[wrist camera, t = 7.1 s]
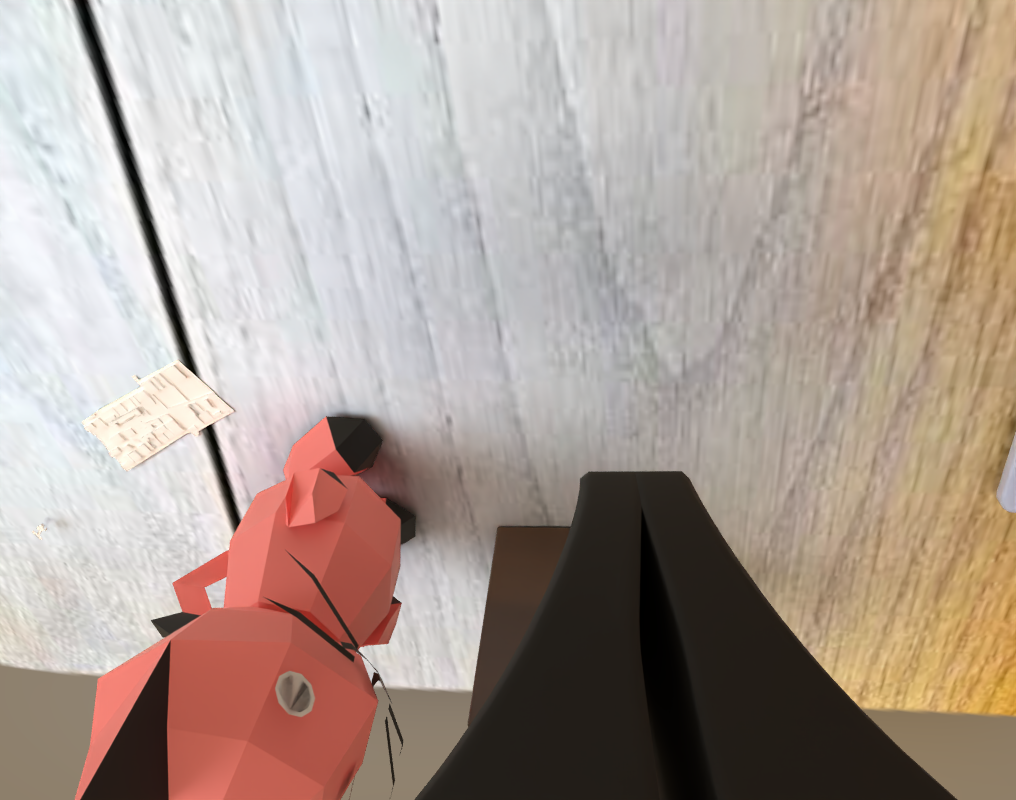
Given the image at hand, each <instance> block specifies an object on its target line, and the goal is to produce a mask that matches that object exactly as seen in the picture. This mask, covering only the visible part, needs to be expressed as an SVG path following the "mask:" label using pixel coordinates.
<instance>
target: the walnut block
mask: <svg viewBox="0 0 1016 800" xmlns="http://www.w3.org/2000/svg"><path fill="white" fill-rule="evenodd" d="M569 531H570V528H552V527H498V529H497V534H496V541H495V547H494V554H493V560H492V567H491V574H490V580H489V587H488V593H487V600H486V607H485V613H484V620H483V626H482V633H481V639H480V646H479V653H478V659H477V666H476V672H475V679H474V686H473V692H472V699H471V705H470V712H469V719H468V727H469V726H470V724H471V723H472V721H473V720H474V718H475V717H476V715H477V714H478V712H479V711H480V709H481V708H482V706H483V705H484V703H485V702H486V700H487V699H488V697H489V695H490V694H491V692H492V691H493V689H494V687H495V686H496V684H497V682H498V681H499V679H500V677H501V676H502V674H503V672H504V671H505V669H506V667H507V666H508V664H509V662H510V660H511V659H512V657H513V655H514V653H515V651H516V650H517V648H518V646H519V644H520V642H521V640H522V639H523V637H524V635H525V633H526V631H527V629H528V627H529V625H530V623H531V621H532V619H533V616H534V614H535V612H536V610H537V608H538V606H539V604H540V602H541V600H542V598H543V596H544V594H545V592H546V590H547V587H548V585H549V583H550V581H551V578H552V576H553V573H554V571H555V568H556V566H557V563H558V560H559V558H560V555H561V553H562V550H563V548H564V545H565V543H566V540H567V537H568V534H569Z"/></svg>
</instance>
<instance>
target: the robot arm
mask: <svg viewBox="0 0 1016 800" xmlns="http://www.w3.org/2000/svg"><path fill="white" fill-rule="evenodd" d="M996 498H997V499H998V501H999V503H1000V504H1001V506H1002V507H1003V509H1005V510H1006V511H1008V512H1013V513H1016V432H1015V435H1014V439H1013V442H1012V445H1011V448H1010V451H1009V454H1008V457H1007V461H1006V464H1005V467H1004V470H1003V473H1002V476H1001V479H1000V482H999V486H998V489H997V493H996ZM415 800H957V799H956V798H955V797H954V796H953V795H952V794H950V793H949V792H948V791H947V790H946V789H945V788H944V787H943V786H941V785H940V784H939V783H938V782H937V781H936V780H935V779H934V778H933V777H932V776H930V775H929V774H928V773H927V772H926V771H925V770H924V769H923V768H921V767H920V766H919V765H918V764H917V763H916V762H915V761H914V760H913V759H911V758H910V757H909V756H908V755H907V754H906V753H905V752H904V751H902V749H901V748H900V747H898V746H897V745H896V744H895V743H894V742H893V741H892V740H891V739H890V738H889V737H888V736H887V735H886V734H885V733H884V732H883V731H882V730H881V729H880V728H879V727H878V726H877V725H876V724H875V723H874V722H873V721H872V720H871V719H870V718H869V717H868V716H867V715H866V714H865V713H864V712H863V711H862V710H861V709H860V708H859V707H858V705H857V704H856V703H855V702H854V701H853V700H852V699H851V698H850V697H849V696H848V695H847V694H846V693H845V692H844V691H843V689H842V688H841V687H840V686H839V685H838V684H837V683H836V682H835V681H834V680H833V679H832V678H831V677H830V675H829V674H828V673H827V672H826V671H825V670H824V669H823V668H822V666H821V665H820V664H819V663H818V662H817V661H816V660H815V658H814V657H813V656H812V655H811V654H810V653H809V651H808V650H807V649H806V648H805V647H804V646H803V644H802V643H801V642H800V641H799V640H798V638H797V637H796V636H795V635H794V633H793V632H792V631H791V630H790V628H789V627H788V626H787V625H786V623H785V622H784V621H783V620H782V619H781V617H780V616H779V615H778V614H777V612H776V611H775V610H774V608H773V607H772V606H771V604H770V603H769V602H768V600H767V599H766V598H765V597H764V595H763V594H762V592H761V591H760V590H759V588H758V587H757V585H756V584H755V583H754V581H753V580H752V578H751V577H750V576H749V574H748V573H747V571H746V570H745V569H744V567H743V566H742V564H741V563H740V562H739V560H738V559H737V557H736V556H735V554H734V553H733V551H732V550H731V548H730V547H729V546H728V544H727V542H726V541H725V539H724V538H723V536H722V535H721V533H720V531H719V530H718V528H717V527H716V525H715V524H714V522H713V520H712V519H711V517H710V515H709V514H708V512H707V510H706V509H705V507H704V505H703V503H702V502H701V500H700V498H699V496H698V494H697V492H696V491H695V489H694V487H693V485H692V483H691V481H690V479H689V478H688V477H687V476H686V475H685V474H684V473H683V472H682V471H655V472H588V473H587V474H585V475H584V476H583V477H582V478H580V491H579V496H578V502H577V506H576V510H575V514H574V518H573V521H572V524H571V527H570V531H569V534H568V537H567V540H566V543H565V545H564V548H563V550H562V553H561V555H560V558H559V560H558V563H557V566H556V568H555V571H554V573H553V576H552V578H551V581H550V583H549V585H548V587H547V590H546V592H545V594H544V596H543V598H542V600H541V602H540V604H539V606H538V608H537V610H536V612H535V614H534V616H533V619H532V621H531V623H530V625H529V627H528V629H527V631H526V633H525V635H524V637H523V639H522V640H521V642H520V644H519V646H518V648H517V650H516V651H515V653H514V655H513V657H512V659H511V660H510V662H509V664H508V666H507V667H506V669H505V671H504V672H503V674H502V676H501V677H500V679H499V681H498V682H497V684H496V686H495V687H494V689H493V691H492V692H491V694H490V695H489V697H488V699H487V700H486V702H485V703H484V705H483V706H482V708H481V709H480V711H479V712H478V714H477V715H476V717H475V718H474V720H473V721H472V723H471V724H470V726H469V727H468V729H467V730H466V732H465V733H464V735H463V736H462V738H461V739H460V741H459V742H458V743H457V745H456V746H455V748H454V749H453V750H452V752H451V753H450V755H449V756H448V758H447V759H446V760H445V762H444V763H443V764H442V765H441V767H440V768H439V770H438V771H437V772H436V773H435V775H434V776H433V777H432V778H431V780H430V781H429V782H428V783H427V785H426V786H425V787H424V789H423V790H422V791H421V792H420V793H419V795H418V796H417V797H416V798H415Z"/></svg>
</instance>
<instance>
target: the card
mask: <svg viewBox="0 0 1016 800" xmlns="http://www.w3.org/2000/svg"><path fill="white" fill-rule="evenodd" d="M132 377H133V378H134V380H135V381H136V382H137V383H138V384H139V385H140V386H141V387H139V388H137V389H136V390H134V391H132V392H130V393H128V394H126V395H125V396H123V397H121V398H119V399H117V400H115V401H114V402H112V403H110V404H108V405H106V406H104V407H103V408H101V409H99V410H98V411H97V412H95V413H94V414H92V415H91V416H90V417H88V418H87V419H85V420H84V421H82V422H81V423H82V424H83V425H84V426H85V428H84V429H85V430H87V431H88V432H91V433H92V434H93V435H96V436H97V438H98V439H99V440H100V441H101V442H102V443H103V444H104V445H105V447H106V449H107V450H109V451H110V452H109V455H110V456H111V457H112V458H113V457H115V458H116V459H117V460H118V462H119V463H120V464H121V467H122V468H123V469H125V470H126V471H128V470H130V469H132V468H133V467H135V466H136V465H138V464H139V463H141V462H143V461H144V460H146V459H147V458H149V457H150V456H152V455H154V454H155V453H157V452H158V451H160V450H161V449H163V448H165V447H166V446H168V445H169V444H171V443H173V442H174V441H176V440H177V439H179V438H180V437H182V436H184V435H185V434H187V433H192V434H193V435H195V436H196V437H197V436H198V435H199V434H198V432H199V430H201V429H203V428H205V427H207V426H208V425H210V424H212V423H214V422H216V421H218V420H219V419H221V418H223V417H225V416H227V415H229V414H230V413H232V412H234V410H233V409H231V408H230V407H229V406H228V405H227V404H226V403H225V402H224V401H222V400H221V399H220V398H219V397H218V396H217V395H216V394H215V393H214V392H213V391H212V390H211V389H210V388H209V387H208V386H207V385H205V384H204V383H203V382H202V381H201V380H200V379H199V378H198V377H196V376H195V375H194V374H193V373H192V372H191V371H190V370H188V369H187V368H186V367H185V366H184V365H183V364H182V363H181V362H179V361H178V360H176V361H175V362H173V363H171V364H169V365H167V366H165V367H163V368H161V369H159V370H157V371H156V372H154V373H152V374H150V375H148V376H146V377H144V378H142V379H140V380H139V379H138V378H137V377H136V376H135V375H134V376H132ZM37 529H38V530H39V531H38V534H37V533H36V532H35V531H31V532H32V533H34V534H35V535H36V536H37V537H38V538H39V539H40V540H41V539H42V538H41V537H40V536H39V535H40V532H42V531H43V530H45V531H46V530H47V528H46V529H44V524H41V526H38V527H37Z"/></svg>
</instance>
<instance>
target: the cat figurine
mask: <svg viewBox="0 0 1016 800" xmlns="http://www.w3.org/2000/svg"><path fill="white" fill-rule="evenodd" d="M382 441H383V440H382V439H381V438H380V436H379V435H378V434H377V433H376V432H375V431H374V430H373V429H372V428H371V426H370V425H369V424H368V423H367V422H366V421H365V420H364V419H353V418H340V417H327V416H326V417H325V418H324V419H323V420H321V421H320V422H319V423H318V424H317V425H316V426H315V427H313V428H312V429H311V430H310V431H309V432H308V433H307V434H305V435H304V436H303V437H302V438H301V439H300V440H299V441H297V442H296V443H295V444H294V445H293V447H292V449H291V452H290V454H289V457H288V459H287V462H286V464H285V467H284V469H283V471H284V475H285V479H286V480H285V481H283V482H281V483H279V484H277V485H274V486H272V487H270V488H268V489H266V490H264V491H262V492H260V493H257V495H256V496H255V498H254V500H253V502H252V504H251V505H250V507H249V509H248V511H247V512H246V514H245V516H244V518H243V519H242V521H241V523H240V525H239V526H238V528H237V530H236V532H235V533H234V535H233V537H232V539H231V540H230V548H229V550H228V551H225V552H224V553H222V554H220V555H219V556H217V557H215V558H214V559H212V560H210V561H209V562H207V563H205V564H204V565H202V566H200V567H199V568H197V569H195V570H193V571H192V572H190V573H188V574H187V575H185V576H183V577H182V578H180V579H178V580H177V581H175V582H173V586H174V589H175V592H176V595H177V597H178V600H179V603H180V606H181V609H182V611H183V612H181V613H177V614H173V615H169V616H166V617H162V618H158V619H154V620H151V621H152V623H153V624H154V626H155V627H156V628H157V630H158V631H159V633H160V634H161V636H162V637H165V638H164V639H162V640H160V641H159V642H157V643H156V644H154V645H152V646H151V647H149V648H147V649H146V650H144V651H143V652H141V653H139V654H138V655H136V656H134V657H133V658H131V659H130V660H128V661H126V662H125V663H123V664H121V665H120V666H118V667H117V668H115V669H113V670H112V671H110V672H108V673H107V674H105V675H104V676H102V677H100V678H99V679H98V685H97V693H96V701H95V710H94V718H93V726H92V735H91V743H90V748H89V751H88V755H87V758H86V762H85V765H84V769H83V772H82V776H81V780H80V783H79V787H78V790H77V793H76V797H75V800H340V799H341V798H342V796H343V794H344V793H345V791H346V789H347V788H348V786H349V784H350V783H351V781H352V779H353V778H354V777H355V774H356V773H357V771H358V769H359V768H360V766H361V765H362V762H363V758H364V754H365V751H366V747H367V742H368V739H369V735H370V731H371V727H372V723H373V719H374V716H375V711H376V708H377V704H378V700H377V697H376V694H375V692H374V689H373V686H374V685H375V683H376V682H377V681H378V680H379V681H381V683H382V686H383V688H384V690H385V692H386V693H387V691H386V688H385V686H384V683H383V681H382V679H381V677H380V675H379V673H378V674H377V673H375V672H374V675H373V678H372V684H371V681H370V678H369V676H368V673H367V670H366V668H365V665H364V662H363V660H362V657H361V656H363V655H362V654H361V653H360V652H359V651H358V649H359V648H360V647H364V646H367V645H380V644H388V643H389V640H390V638H391V635H392V633H393V630H394V628H395V625H396V622H397V618H398V615H399V611H400V607H401V604H402V603H401V602H400V601H398V600H397V599H396V598H395V597H393V593H394V589H395V585H396V581H397V577H398V573H399V569H400V546H401V545H402V544H403V543H405V542H407V541H408V540H410V539H412V538H414V537H415V515H413V514H411V513H410V512H408V511H407V510H405V509H403V508H402V507H400V506H398V505H397V504H395V503H393V502H392V501H390V500H389V499H387V498H380V497H379V496H378V495H377V494H376V493H375V492H374V491H373V490H372V489H371V488H370V487H369V486H368V485H367V484H366V483H365V482H364V481H363V480H362V479H361V478H360V477H359V476H355V475H357V474H359V473H361V472H363V471H365V470H367V469H369V468H371V467H372V466H373V464H374V461H375V459H376V456H377V454H378V451H379V449H380V446H381V444H382ZM225 577H227V579H226V590H225V600H224V608H212V607H211V605H210V602H209V599H208V596H207V593H206V591H205V588H204V587H207V586H209V585H211V584H213V583H215V582H217V581H219V580H221V579H223V578H225ZM356 652H357V653H359V654H360V655H361V656H360V655H359V654H357V653H356ZM363 657H364V656H363ZM364 658H365V657H364ZM365 659H366V658H365ZM368 662H369V661H368ZM369 663H370V662H369ZM370 664H371V663H370ZM373 668H374V667H373ZM374 669H375V668H374ZM375 670H376V669H375ZM376 671H377V670H376ZM377 672H378V671H377ZM387 695H388V693H387ZM388 697H389V695H388ZM389 699H390V698H389ZM390 700H391V699H390ZM389 712H390V714H391V717H392V720H393V722H394V725H395V728H396V730H397V733H398V736H399V738H400V741H401V744H402V746H403V739H402V736H401V733H400V730H399V728H398V725H397V722H396V719H395V717H394V714H393V711H392V708H391V706H390V705H389ZM385 724H386V732H387V740H388V748H389V755H390V764H391V772H392V780H393V785H394V781H395V778H394V770H393V762H392V754H391V746H390V738H389V730H388V721H387V717H386V720H385ZM400 753H401V752H400Z"/></svg>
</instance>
